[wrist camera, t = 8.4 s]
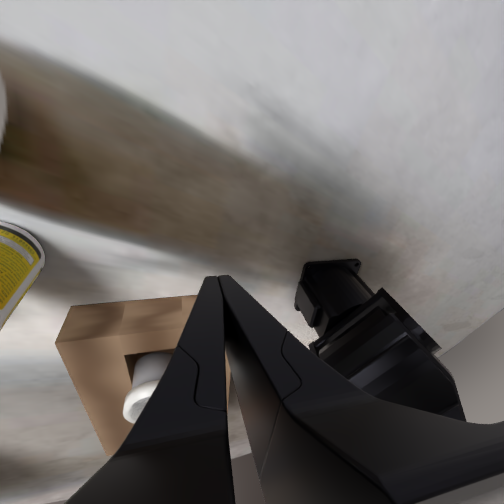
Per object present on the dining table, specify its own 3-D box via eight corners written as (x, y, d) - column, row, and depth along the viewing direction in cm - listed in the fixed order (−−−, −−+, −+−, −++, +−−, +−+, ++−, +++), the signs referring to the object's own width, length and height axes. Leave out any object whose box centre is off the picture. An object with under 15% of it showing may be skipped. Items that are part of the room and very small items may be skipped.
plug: (182, 345, 24) (184, 387, 21) (185, 376, 27) (186, 418, 24) (125, 353, 23) (117, 398, 20) (133, 385, 26) (128, 430, 23)
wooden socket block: (227, 292, 27) (234, 321, 24) (221, 399, 38) (226, 430, 35) (71, 306, 24) (54, 343, 20) (113, 420, 34) (106, 455, 31)
